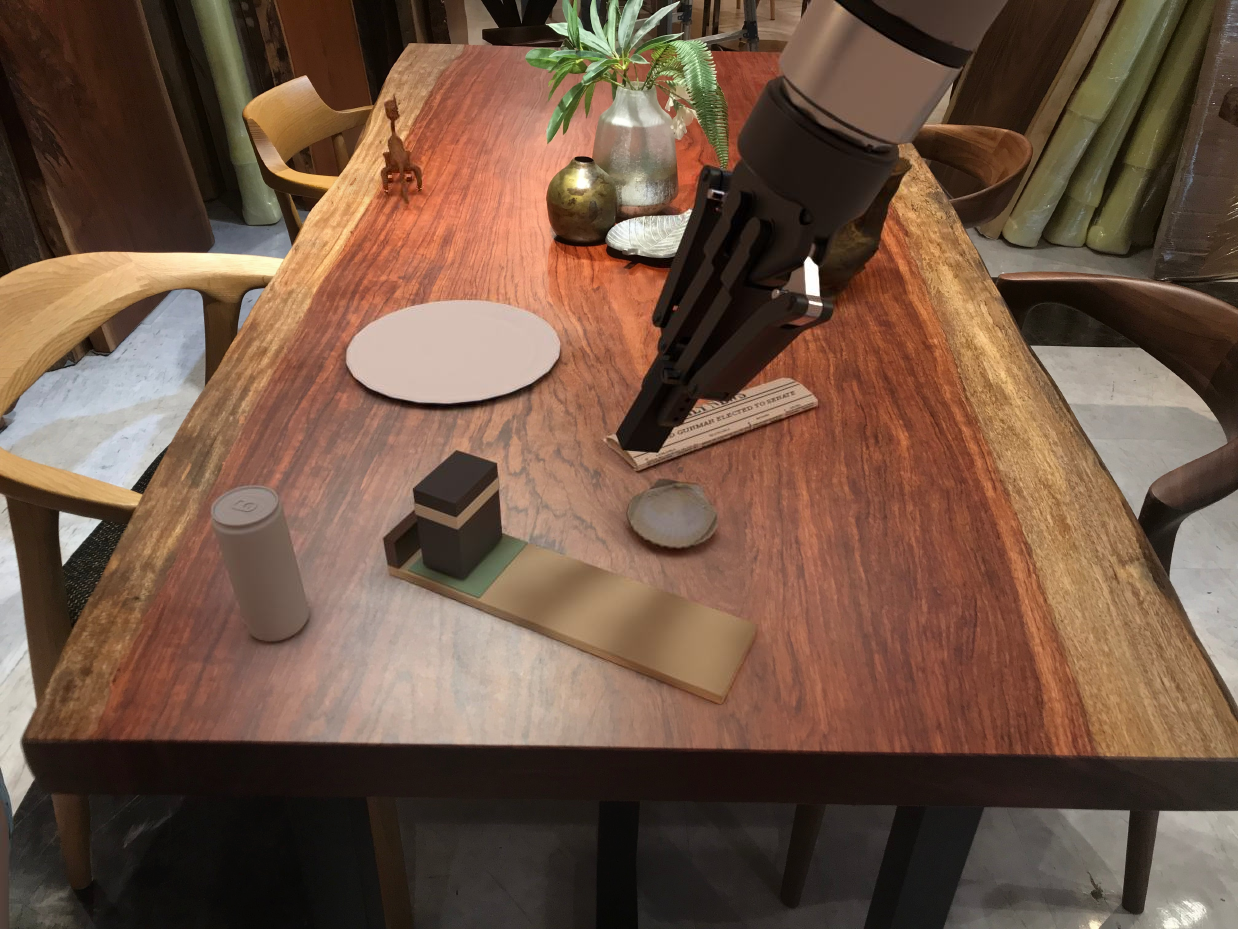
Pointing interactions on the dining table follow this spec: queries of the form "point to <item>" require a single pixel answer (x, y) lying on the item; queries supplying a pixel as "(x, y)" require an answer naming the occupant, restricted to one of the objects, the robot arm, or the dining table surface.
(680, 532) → the seashell
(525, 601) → the rail
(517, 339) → the plate
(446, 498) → the dark grey lidded box
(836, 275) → the pottery vessel
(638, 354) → the dining table surface
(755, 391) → the newspaper
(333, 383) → the dining table surface
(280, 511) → the beverage can
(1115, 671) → the dining table surface
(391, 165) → the brown legged figure
